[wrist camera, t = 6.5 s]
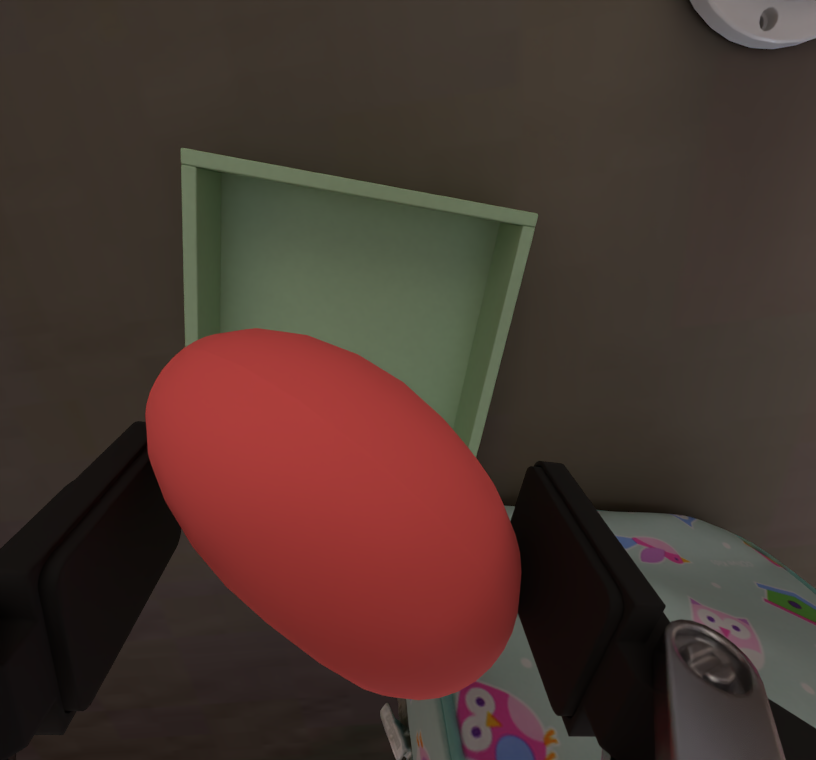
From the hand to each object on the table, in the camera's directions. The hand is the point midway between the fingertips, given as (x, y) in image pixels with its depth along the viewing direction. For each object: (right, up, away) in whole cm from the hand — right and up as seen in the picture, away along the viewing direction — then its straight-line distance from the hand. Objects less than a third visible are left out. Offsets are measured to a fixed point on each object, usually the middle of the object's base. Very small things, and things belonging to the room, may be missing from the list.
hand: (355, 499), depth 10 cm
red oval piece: (0, +1, +1) cm, 1 cm away
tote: (-2, +5, +15) cm, 16 cm away
